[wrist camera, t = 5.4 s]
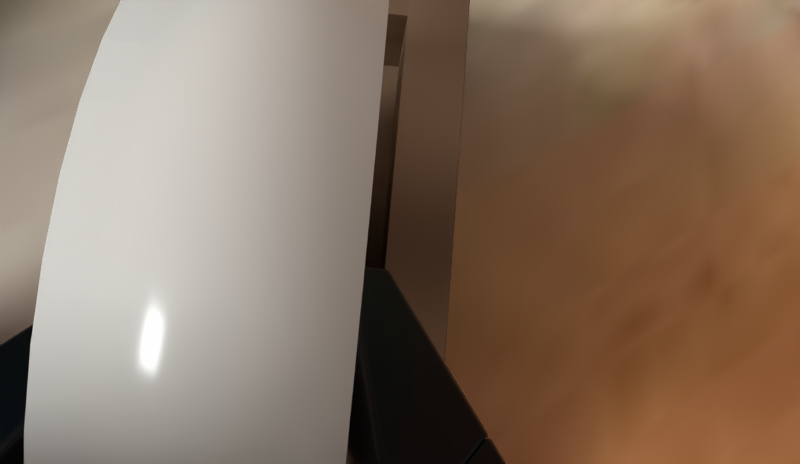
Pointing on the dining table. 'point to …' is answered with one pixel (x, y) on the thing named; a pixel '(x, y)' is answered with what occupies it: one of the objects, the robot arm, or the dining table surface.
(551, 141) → the dining table surface
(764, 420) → the dining table surface
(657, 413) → the dining table surface
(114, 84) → the plate
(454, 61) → the stand
